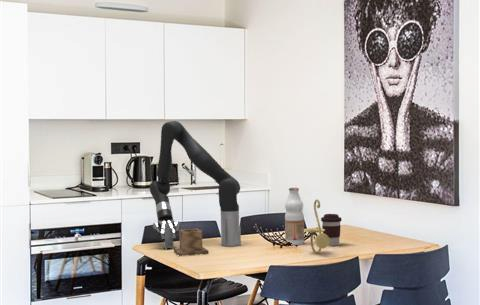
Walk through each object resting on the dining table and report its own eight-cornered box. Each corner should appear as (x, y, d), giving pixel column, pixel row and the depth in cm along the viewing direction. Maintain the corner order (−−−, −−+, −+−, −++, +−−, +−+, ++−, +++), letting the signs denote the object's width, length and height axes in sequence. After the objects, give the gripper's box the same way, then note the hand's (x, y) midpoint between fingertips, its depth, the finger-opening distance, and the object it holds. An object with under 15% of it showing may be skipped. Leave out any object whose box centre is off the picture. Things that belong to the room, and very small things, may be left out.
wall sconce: (332, 255, 270) (331, 199, 270) (312, 257, 268) (311, 200, 267) (320, 250, 284) (319, 197, 283) (301, 251, 281) (300, 198, 281)
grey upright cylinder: (171, 247, 299) (171, 227, 299) (173, 248, 295) (172, 228, 295) (163, 248, 298) (163, 227, 297) (165, 249, 294) (164, 228, 294)
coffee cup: (344, 243, 300) (343, 213, 300) (338, 247, 291) (338, 216, 291) (324, 242, 304) (324, 213, 304) (318, 246, 295) (318, 215, 295)
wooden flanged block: (202, 249, 292) (202, 227, 292) (208, 253, 280) (208, 231, 280) (173, 251, 288) (173, 229, 288) (178, 256, 276) (178, 233, 276)
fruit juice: (284, 245, 300) (283, 188, 299) (286, 242, 309) (285, 187, 309) (303, 245, 298) (302, 188, 298) (305, 242, 307) (304, 187, 307)
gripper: (150, 208, 301) (155, 236, 290) (179, 207, 305) (184, 234, 294) (149, 218, 306) (153, 246, 295) (177, 216, 310) (182, 244, 299)
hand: (169, 240), depth 294 cm, fingers closed on grey upright cylinder, 4 cm apart
